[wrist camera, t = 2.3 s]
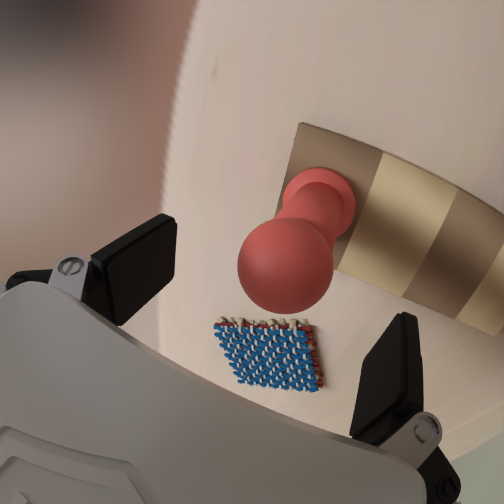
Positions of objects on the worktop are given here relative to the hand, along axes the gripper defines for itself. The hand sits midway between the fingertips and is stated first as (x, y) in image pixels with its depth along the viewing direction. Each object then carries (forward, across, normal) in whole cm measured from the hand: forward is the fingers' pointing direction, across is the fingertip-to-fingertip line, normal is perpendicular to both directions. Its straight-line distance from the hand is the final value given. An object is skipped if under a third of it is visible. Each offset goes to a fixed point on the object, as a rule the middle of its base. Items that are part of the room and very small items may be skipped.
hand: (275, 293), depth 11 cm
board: (+11, -8, -1) cm, 13 cm away
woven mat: (+12, -1, +17) cm, 21 cm away
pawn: (+9, 0, -1) cm, 9 cm away
